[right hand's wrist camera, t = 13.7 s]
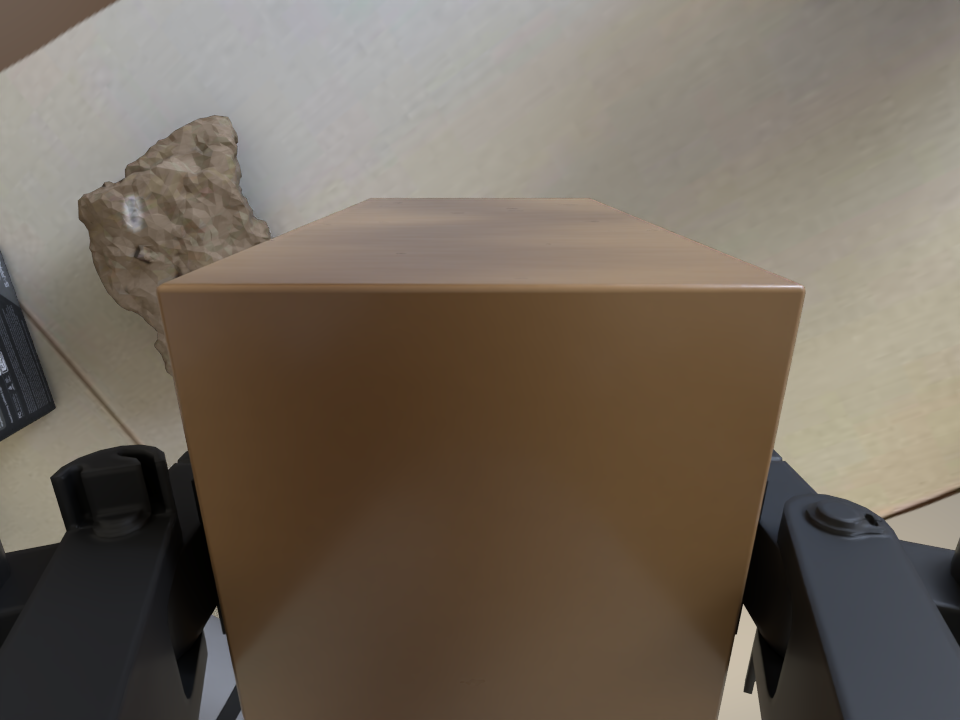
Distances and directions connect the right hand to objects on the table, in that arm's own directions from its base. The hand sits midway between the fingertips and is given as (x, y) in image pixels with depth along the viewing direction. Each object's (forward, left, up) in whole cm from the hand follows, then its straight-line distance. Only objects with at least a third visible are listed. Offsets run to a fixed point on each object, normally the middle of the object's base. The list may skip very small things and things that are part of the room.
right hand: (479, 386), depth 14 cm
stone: (-24, +4, -39) cm, 46 cm away
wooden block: (0, 0, -3) cm, 3 cm away
